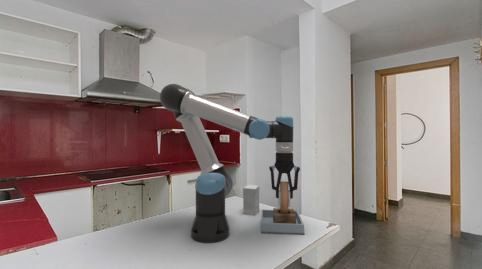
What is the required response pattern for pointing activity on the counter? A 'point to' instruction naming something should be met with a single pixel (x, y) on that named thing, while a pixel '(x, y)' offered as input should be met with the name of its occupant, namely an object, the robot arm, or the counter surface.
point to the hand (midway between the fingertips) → (284, 205)
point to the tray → (280, 224)
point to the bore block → (284, 216)
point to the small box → (251, 199)
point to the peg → (284, 197)
